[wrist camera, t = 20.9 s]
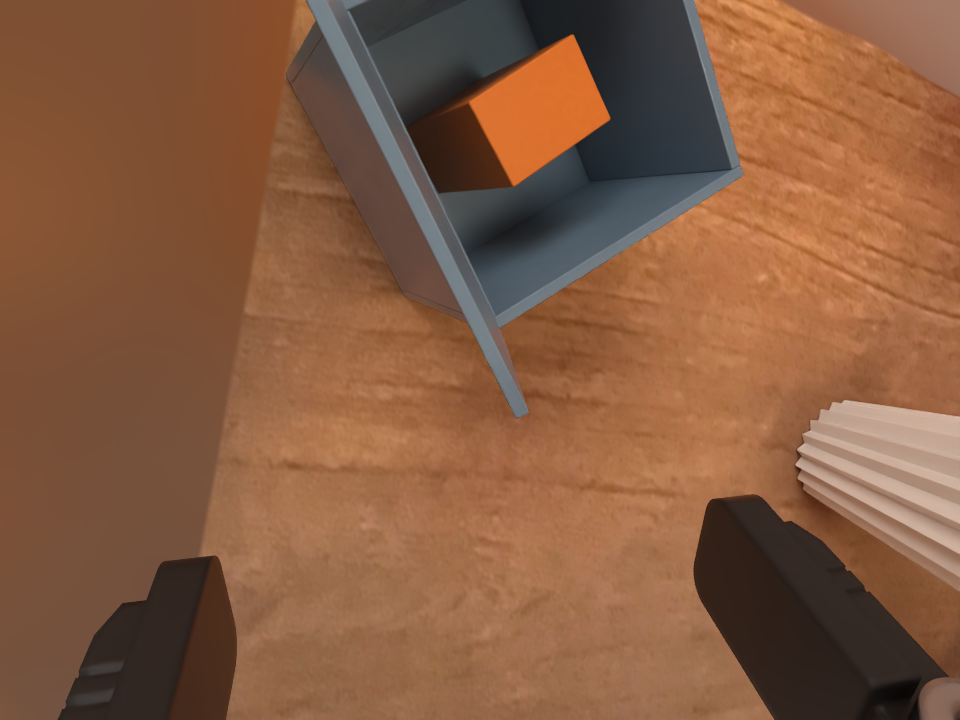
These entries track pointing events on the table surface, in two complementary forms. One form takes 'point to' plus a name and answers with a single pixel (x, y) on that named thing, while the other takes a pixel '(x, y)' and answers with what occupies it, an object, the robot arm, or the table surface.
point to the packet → (511, 121)
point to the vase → (890, 478)
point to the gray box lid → (417, 191)
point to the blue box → (561, 183)
